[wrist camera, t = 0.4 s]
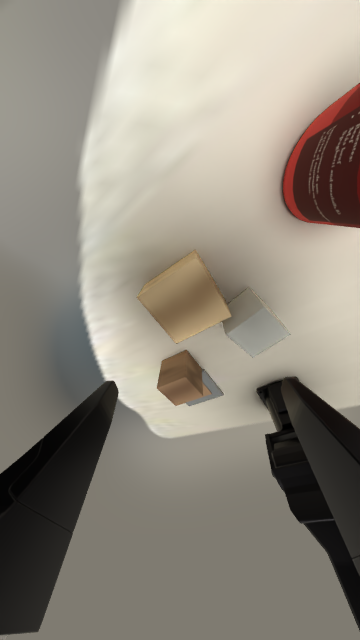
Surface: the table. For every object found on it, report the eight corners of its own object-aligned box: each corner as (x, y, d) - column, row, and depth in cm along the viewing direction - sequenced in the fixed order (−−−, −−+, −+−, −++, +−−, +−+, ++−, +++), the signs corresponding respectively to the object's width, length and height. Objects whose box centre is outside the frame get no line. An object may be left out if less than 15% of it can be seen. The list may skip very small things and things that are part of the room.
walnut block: (201, 368, 28) (203, 396, 23) (178, 377, 29) (175, 405, 25) (186, 349, 26) (185, 376, 22) (162, 360, 27) (156, 388, 23)
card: (223, 393, 31) (223, 396, 30) (189, 404, 33) (189, 407, 32) (203, 369, 28) (204, 371, 27) (167, 383, 30) (167, 385, 30)
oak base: (225, 299, 21) (231, 316, 18) (178, 324, 24) (176, 343, 20) (195, 249, 19) (196, 257, 15) (145, 283, 21) (136, 297, 18)
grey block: (271, 310, 22) (290, 334, 17) (241, 331, 24) (252, 357, 19) (249, 286, 20) (264, 306, 16) (219, 311, 22) (226, 335, 18)
